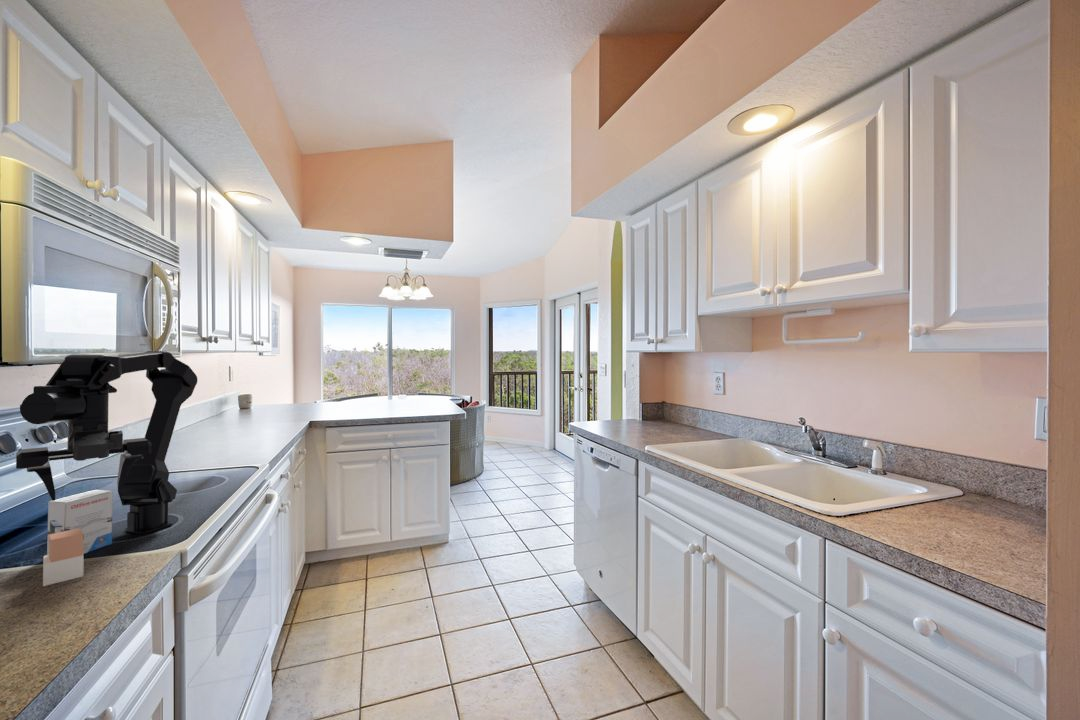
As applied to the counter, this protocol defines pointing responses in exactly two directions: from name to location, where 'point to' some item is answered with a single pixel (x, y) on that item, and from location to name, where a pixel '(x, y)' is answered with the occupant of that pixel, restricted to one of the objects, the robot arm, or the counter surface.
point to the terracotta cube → (65, 544)
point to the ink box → (83, 517)
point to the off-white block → (62, 569)
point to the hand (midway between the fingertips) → (87, 494)
